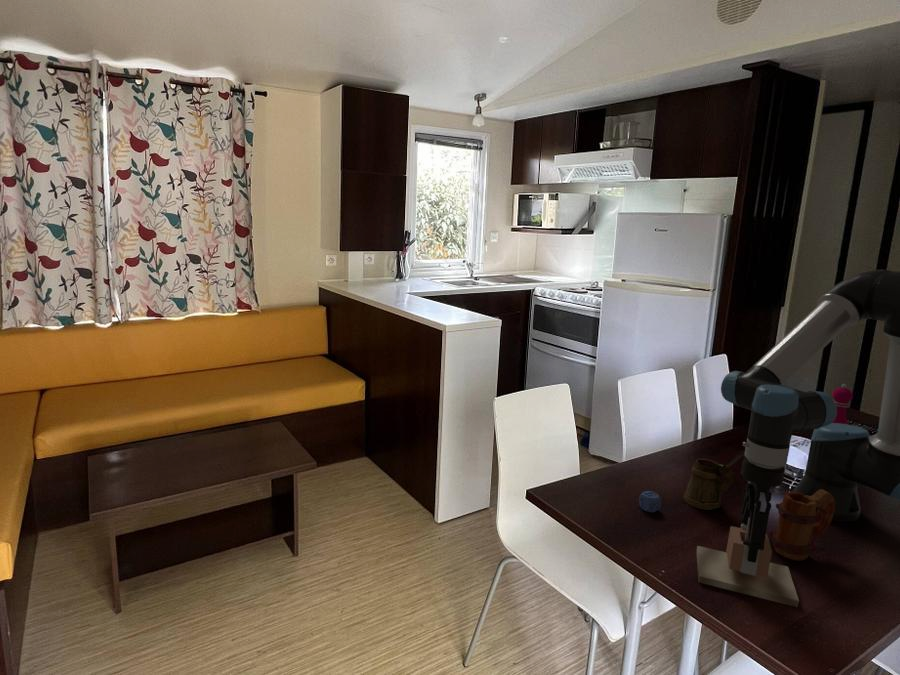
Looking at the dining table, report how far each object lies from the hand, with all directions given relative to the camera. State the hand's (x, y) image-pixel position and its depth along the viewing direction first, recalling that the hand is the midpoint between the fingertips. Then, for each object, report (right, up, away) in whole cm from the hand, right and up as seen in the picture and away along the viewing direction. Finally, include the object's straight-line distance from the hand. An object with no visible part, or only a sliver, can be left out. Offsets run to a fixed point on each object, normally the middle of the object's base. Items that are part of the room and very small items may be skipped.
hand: (745, 562), depth 118 cm
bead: (0, 0, 0) cm, 0 cm away
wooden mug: (+7, +3, +31) cm, 32 cm away
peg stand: (0, -3, +1) cm, 4 cm away
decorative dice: (-11, +3, +28) cm, 30 cm away
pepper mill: (+76, +11, +85) cm, 114 cm away
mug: (+18, -2, +11) cm, 21 cm away
